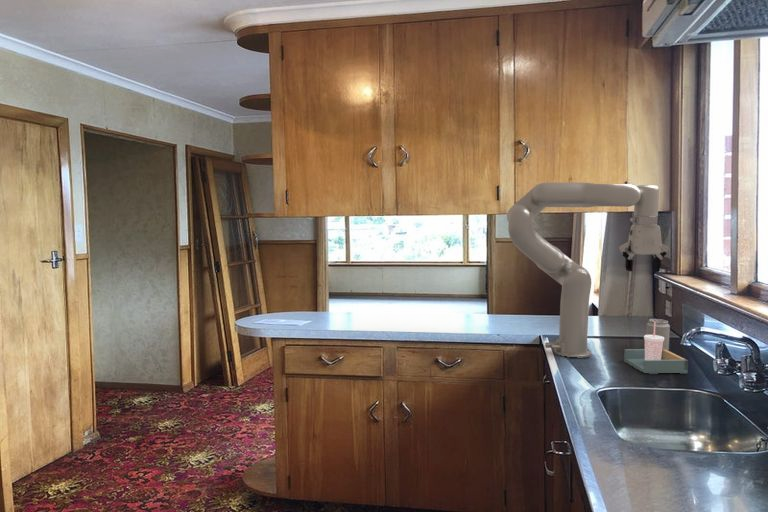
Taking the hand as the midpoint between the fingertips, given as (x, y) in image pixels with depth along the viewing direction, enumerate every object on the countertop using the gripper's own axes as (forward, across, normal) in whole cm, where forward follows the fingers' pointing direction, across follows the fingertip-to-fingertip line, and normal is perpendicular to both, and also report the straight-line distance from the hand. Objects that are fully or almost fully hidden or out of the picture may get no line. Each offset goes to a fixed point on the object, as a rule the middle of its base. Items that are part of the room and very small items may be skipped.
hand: (642, 270), depth 203 cm
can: (+31, +9, +4) cm, 32 cm away
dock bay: (+30, -1, -13) cm, 33 cm away
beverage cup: (+29, -2, -13) cm, 32 cm away
